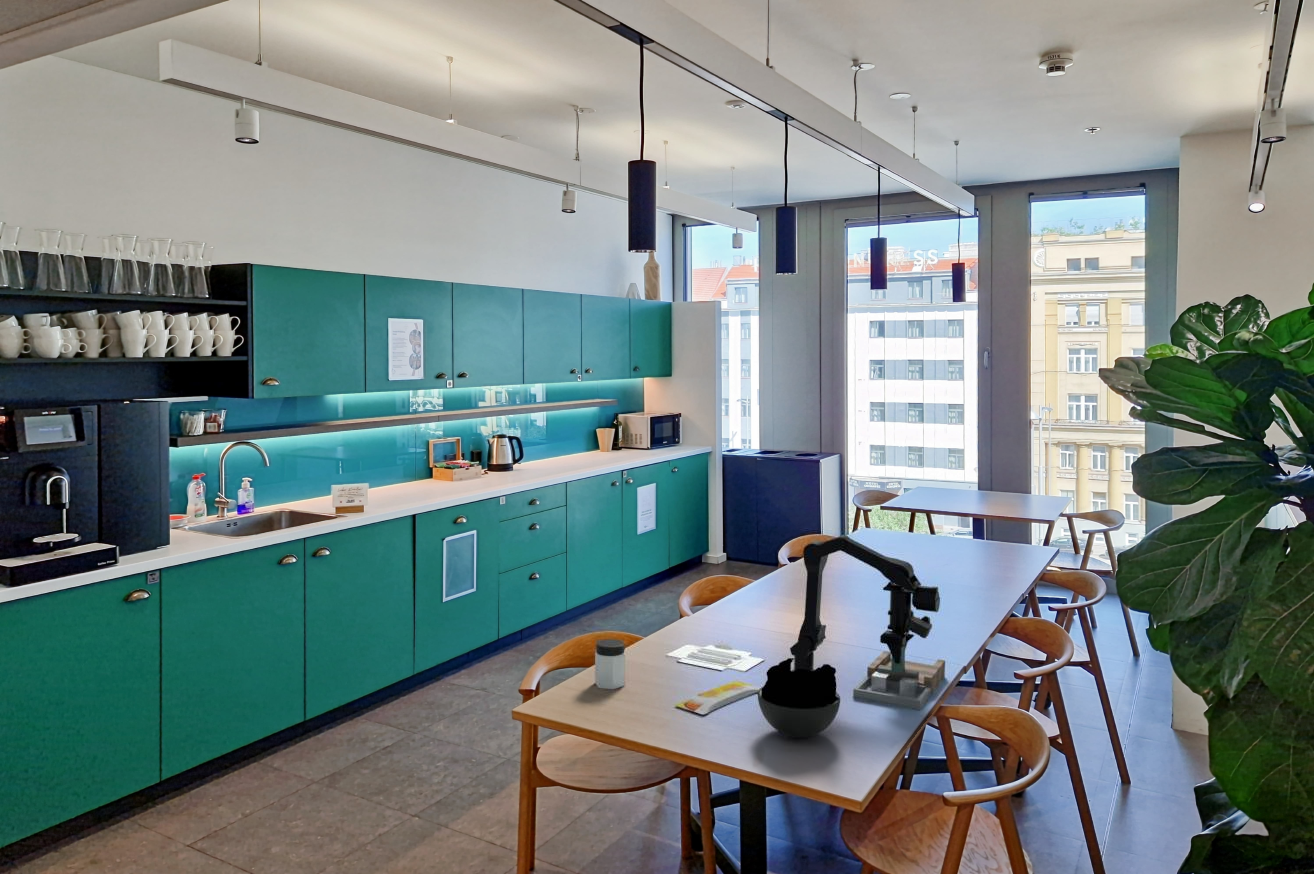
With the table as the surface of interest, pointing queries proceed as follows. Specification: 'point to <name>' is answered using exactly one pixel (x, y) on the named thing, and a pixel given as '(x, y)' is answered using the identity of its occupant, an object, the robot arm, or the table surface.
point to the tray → (716, 657)
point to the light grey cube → (909, 686)
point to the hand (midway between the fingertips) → (898, 661)
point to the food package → (718, 697)
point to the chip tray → (891, 694)
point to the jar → (610, 664)
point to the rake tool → (898, 668)
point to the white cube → (880, 681)
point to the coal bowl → (799, 699)
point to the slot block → (927, 673)
